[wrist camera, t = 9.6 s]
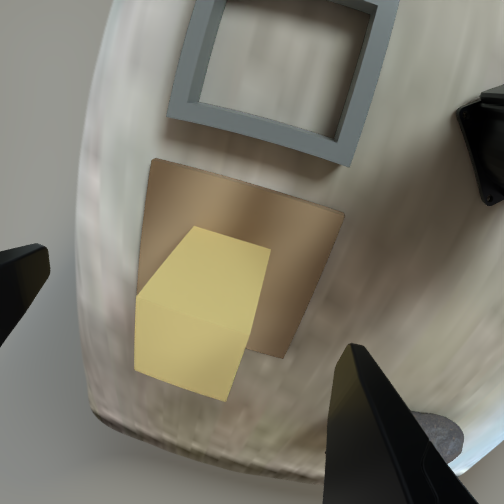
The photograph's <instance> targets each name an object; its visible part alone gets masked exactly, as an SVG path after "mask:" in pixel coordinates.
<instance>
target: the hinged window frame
mask: <svg viewBox="0 0 504 504" xmlns="http://www.w3.org/2000/svg"><path fill="white" fill-rule="evenodd" d="M328 1H331V2H334V3H338V4H341V5H344V6H347V7H350V8H353V9H356V10H359V11H362V12H365V13H367V14H370V15H371V16H370V20H369V24H368V27H367V31H366V34H365V38H364V41H363V45H362V48H361V52H360V55H359V59H358V62H357V66H356V69H355V72H354V76H353V79H352V82H351V86H350V89H349V92H348V96H347V99H346V102H345V105H344V108H343V112H342V115H341V118H340V121H339V124H338V127H337V131H336V134H335V137H334V139H332V138H329V137H326V136H323V135H320V134H317V133H314V132H311V131H308V130H305V129H302V128H298V127H295V126H292V125H288V124H285V123H282V122H278V121H275V120H271V119H267V118H264V117H260V116H256V115H252V114H249V113H245V112H241V111H237V110H232V109H228V108H224V107H220V106H215V105H211V104H206V103H201V102H199V99H200V95H201V91H202V87H203V83H204V79H205V75H206V71H207V67H208V63H209V60H210V56H211V52H212V49H213V45H214V42H215V38H216V35H217V31H218V28H219V24H220V21H221V18H222V14H223V11H224V8H225V5H226V2H227V0H196V3H195V6H194V9H193V13H192V16H191V19H190V23H189V26H188V30H187V33H186V37H185V40H184V44H183V48H182V51H181V55H180V59H179V63H178V67H177V71H176V75H175V79H174V83H173V88H172V92H171V96H170V101H169V105H168V110H167V115H166V117H170V118H174V119H179V120H184V121H189V122H193V123H198V124H202V125H206V126H210V127H215V128H219V129H223V130H227V131H231V132H235V133H239V134H242V135H246V136H250V137H254V138H257V139H261V140H264V141H268V142H271V143H275V144H278V145H282V146H285V147H288V148H291V149H295V150H298V151H301V152H304V153H307V154H311V155H314V156H317V157H320V158H323V159H326V160H329V161H332V162H335V163H337V164H340V165H343V166H346V167H350V165H351V162H352V159H353V156H354V153H355V150H356V147H357V144H358V141H359V138H360V135H361V132H362V129H363V126H364V123H365V120H366V117H367V114H368V111H369V107H370V104H371V101H372V98H373V95H374V91H375V88H376V85H377V81H378V78H379V75H380V71H381V68H382V64H383V61H384V57H385V54H386V50H387V47H388V43H389V39H390V36H391V32H392V28H393V25H394V21H395V17H396V13H397V9H398V5H399V1H400V0H328Z"/></svg>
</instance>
